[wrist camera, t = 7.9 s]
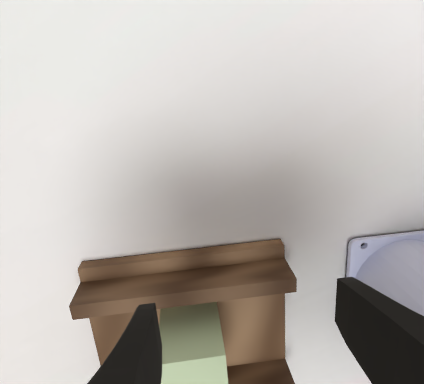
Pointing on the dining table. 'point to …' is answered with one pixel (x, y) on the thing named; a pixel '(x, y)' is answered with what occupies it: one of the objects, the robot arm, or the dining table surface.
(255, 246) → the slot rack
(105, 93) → the dining table surface
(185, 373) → the sage block
